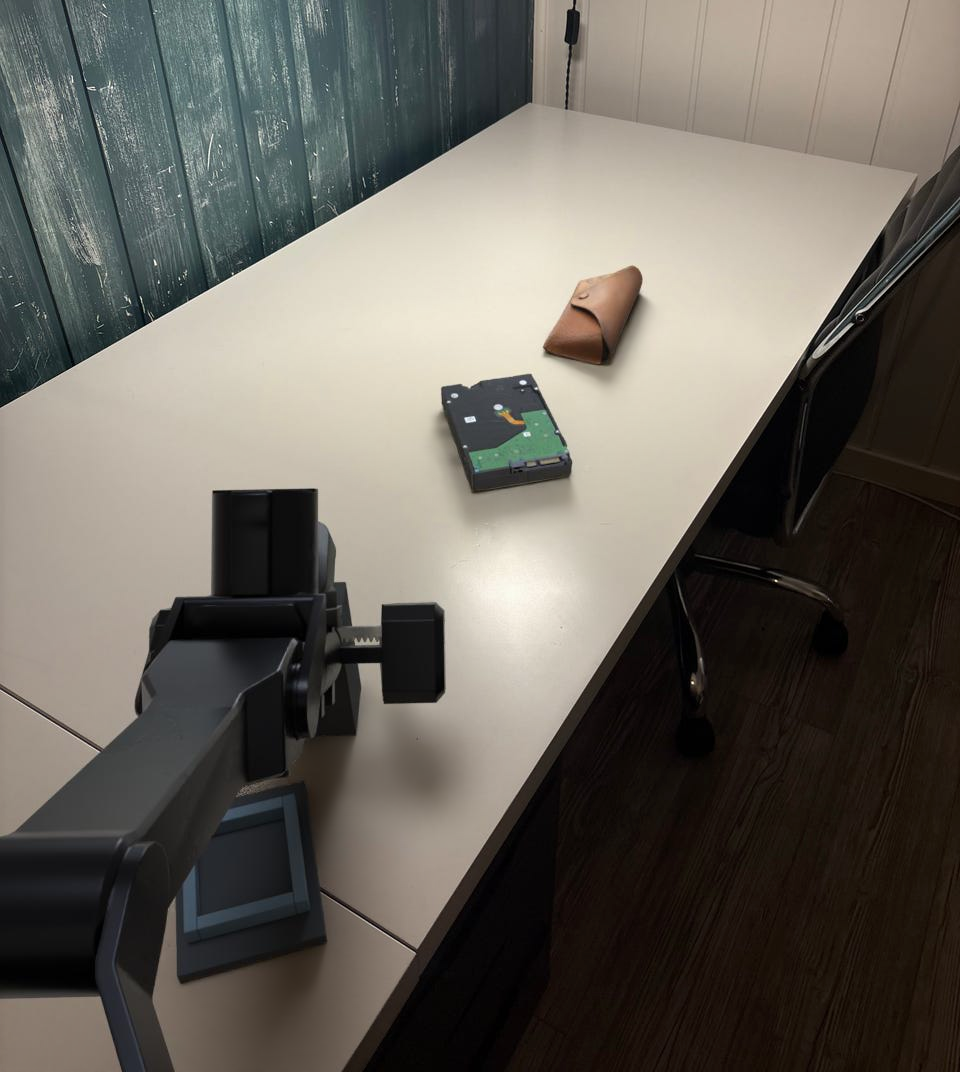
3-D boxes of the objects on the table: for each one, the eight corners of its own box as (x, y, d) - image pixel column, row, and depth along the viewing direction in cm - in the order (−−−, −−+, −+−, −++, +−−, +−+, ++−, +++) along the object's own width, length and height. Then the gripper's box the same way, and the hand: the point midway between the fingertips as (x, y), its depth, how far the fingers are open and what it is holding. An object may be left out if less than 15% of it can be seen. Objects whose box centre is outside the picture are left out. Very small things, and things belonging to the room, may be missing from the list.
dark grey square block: (356, 735, 71) (339, 631, 64) (296, 737, 71) (272, 633, 63) (361, 685, 75) (345, 581, 67) (304, 686, 74) (282, 582, 67)
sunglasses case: (577, 277, 123) (606, 241, 119) (620, 308, 124) (651, 273, 120) (539, 351, 110) (570, 313, 106) (588, 385, 111) (620, 349, 106)
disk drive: (439, 407, 103) (472, 495, 92) (438, 386, 101) (471, 473, 90) (530, 392, 105) (574, 476, 94) (531, 371, 103) (575, 454, 92)
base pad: (327, 942, 59) (323, 924, 58) (180, 983, 58) (171, 966, 56) (306, 787, 68) (301, 768, 66) (176, 819, 66) (169, 799, 64)
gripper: (438, 525, 55) (446, 526, 70) (114, 531, 55) (194, 532, 70) (441, 722, 54) (449, 680, 69) (110, 730, 53) (193, 685, 69)
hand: (321, 640), depth 69 cm, fingers open, 9 cm apart
